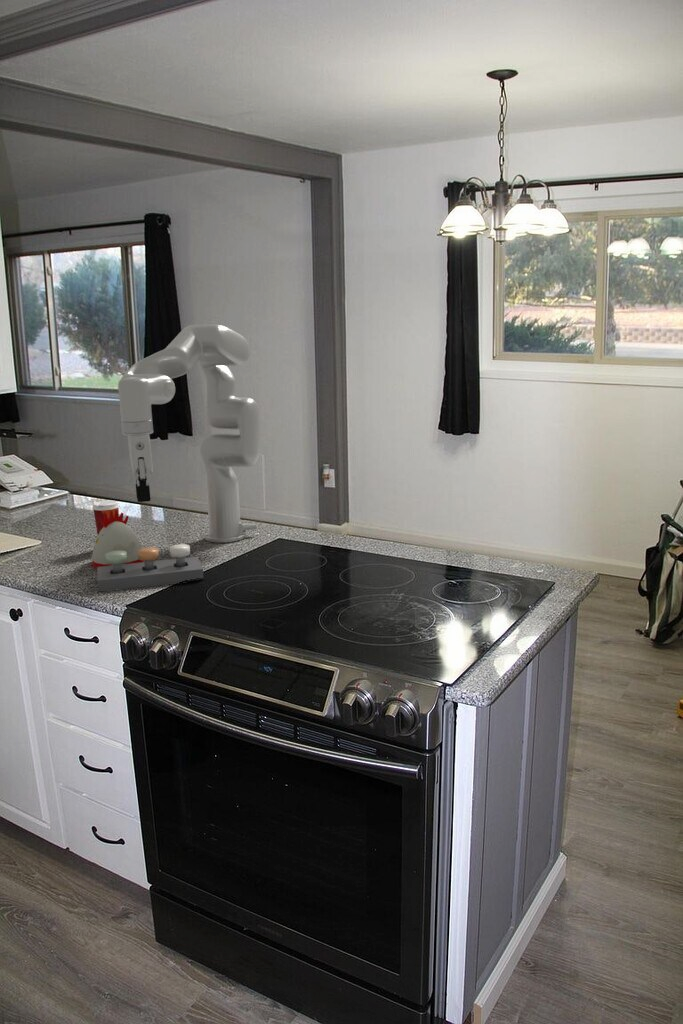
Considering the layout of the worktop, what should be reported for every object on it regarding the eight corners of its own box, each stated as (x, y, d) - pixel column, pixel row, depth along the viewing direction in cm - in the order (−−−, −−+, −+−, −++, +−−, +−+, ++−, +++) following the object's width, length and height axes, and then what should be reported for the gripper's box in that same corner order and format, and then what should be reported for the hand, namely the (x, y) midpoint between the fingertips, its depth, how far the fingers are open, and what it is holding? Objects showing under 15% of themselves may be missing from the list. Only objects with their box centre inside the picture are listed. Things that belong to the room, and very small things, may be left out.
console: (198, 567, 229) (197, 556, 228) (203, 580, 218) (202, 569, 217) (98, 578, 222) (97, 567, 221) (98, 591, 211) (97, 580, 210)
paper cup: (116, 553, 245) (111, 506, 241) (91, 552, 246) (86, 505, 243) (128, 545, 252) (123, 500, 249) (104, 545, 254) (99, 499, 250)
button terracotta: (159, 564, 222) (157, 546, 221) (160, 570, 217) (159, 551, 216) (138, 567, 221) (137, 548, 220) (139, 572, 216) (138, 553, 215)
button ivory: (189, 561, 224) (188, 543, 223) (192, 567, 219) (190, 548, 218) (170, 563, 223) (168, 545, 222) (171, 569, 218) (170, 550, 217)
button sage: (127, 568, 220) (126, 549, 219) (128, 573, 215) (126, 555, 214) (107, 570, 219) (105, 551, 218) (107, 576, 214) (105, 557, 213)
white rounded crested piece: (85, 562, 237) (79, 510, 234) (131, 552, 245) (126, 502, 242) (104, 573, 226) (99, 518, 223) (152, 563, 234) (147, 510, 231)
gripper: (155, 430, 204) (161, 505, 208) (150, 423, 219) (156, 492, 223) (123, 433, 202) (129, 508, 206) (120, 424, 217) (127, 495, 222)
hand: (143, 499), depth 215 cm, fingers open, 2 cm apart
